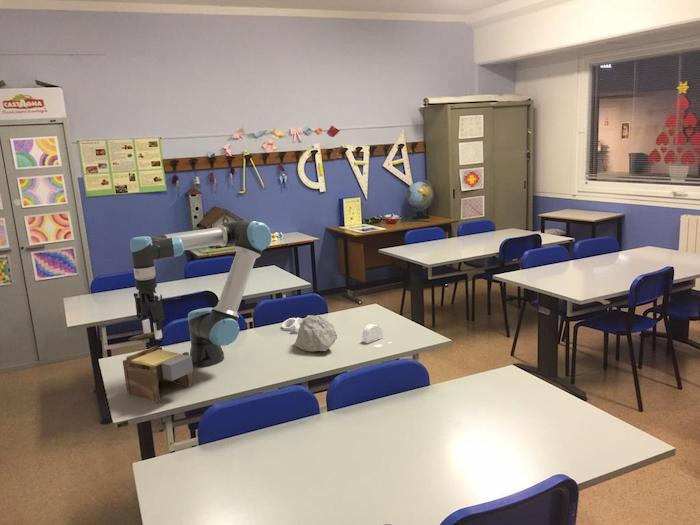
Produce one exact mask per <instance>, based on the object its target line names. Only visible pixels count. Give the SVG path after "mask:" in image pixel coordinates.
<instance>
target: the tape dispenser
mask: <svg viewBox="0 0 700 525" xmlns="http://www.w3.org/2000/svg"><path fill="white" fill-rule="evenodd" d="M361 338H362V339H361V341H362V342H363V343H366V344H370V343H372V342H375V341H378V340H381V339H384V331H383V329H382V327H381V326H380V325H376V324H372V323H370V324H367V325H366V326H365V327H364V329H363V331H362V334H361ZM392 343H393V341H391V342H388V344H392ZM382 346H384V345H383V344H376V345H375V344H374V347H376V348H377V347H378V348H379V347H382Z"/></svg>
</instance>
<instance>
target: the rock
mask: <svg viewBox="0 0 700 525" xmlns="http://www.w3.org/2000/svg"><path fill="white" fill-rule="evenodd" d="M289 335H298V330H297V331H296V330H291V331H290V332H289Z"/></svg>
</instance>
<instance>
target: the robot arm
mask: <svg viewBox="0 0 700 525" xmlns="http://www.w3.org/2000/svg"><path fill="white" fill-rule="evenodd" d="M272 240H273V238H272V231H271V229H270V227H269V226H268V225H267V224H266V223H264V222H260V221H257V220H256V221H254V220H237V221H232V222H228V223H227V222H226V223H224V224H222V223H221V224H217V226H216V227H210V228H204V229H196V230H188V231H181V232H174V233H167V234H162V235H161V234H160V235H143V236H136V237H132V238H130V241H129V248H130V250H129V251H130V255H131V256H130V257H131V261H132V267H133V268H132V269H133V275H134V279H135V280H134V284H135V289H136V290H137V291H136V292H134V293H133V297H134V300H135V311H136V318H137V319H140V321H141V326H142V327H141V328H142V332H143V334H145V333H151V332H152V330H151V323H150V317H149V316H148V315H149V309H150V311H151V312H150V313H151V314H152V315H151V316H152V318H153V322H152V324H153V332H154V333H155V337H154V339H155V340H158V339H161V338H163V333H162V332H163V331H162V321H164V320H165V319H166V318H165V317H166V316H165V312H164V307H163V306H164V305H163V295H162V294H157V291H156V288H157V287H158V283H157V278H156V267H155V261H158V260H165V259H171V258H176V257H180V256H183V254H184V251H189V250H195V249H201V248H207V247H213V246H220V247H226V246H227V247H228V246H229V247H234V249H235V256H234V258H233V262H232V264H231V266H230V269H229V272H228V274H227V277H226V280H225V283H224V286H223V288H222V291H221V294H220V297H219V299H218V302H217V305H216V306H215V307H204V308H198V309H197V308H196V309H195V310H192V311H190V312H188V314H187V324H188V330H189V338H190V349H189V356H192V364H193V367H207V366H214V365H216V364H219V363H221V362H222V361H224V360H225V353H224V352H225V351H224V350H223V348H222V346H224V347H225V346H229V345H230V344H232V343H234V342H235V341H236V340H237V338H238V337H239V334H240V326H239V323H238V322H239V318H240V316H239V313H238V311H239V307H240V304H241V301H242V299H243V296H244V294H245V290H246V288H247V285H248V282H249V280H250V277H251V274H252V271H253V268H254V264H255V262H256V259H258V258H260V257H261V256H262V252H263V251H264V250H266V249H267V248H269V247H270V245H271V243H272Z"/></svg>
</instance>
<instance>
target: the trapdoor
mask: <svg viewBox="0 0 700 525" xmlns="http://www.w3.org/2000/svg"><path fill="white" fill-rule="evenodd" d="M131 362H133V363H137V364H142V365H146V366H158V365H160V364H161V365H162V372H163V379H167V380H171V381H173V380H175V379H178V378H180V377H182V376H184V375H186V374H189V373H191V374H192V373H193V372H194V366H193V364H192V356H187V355H182V353H179V352H175V351H169V350H163V349H162V350H156V351H153V352H151V353H148V354H146V355H143V356H141V357H138V358H135V359H133V360H131Z"/></svg>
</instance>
